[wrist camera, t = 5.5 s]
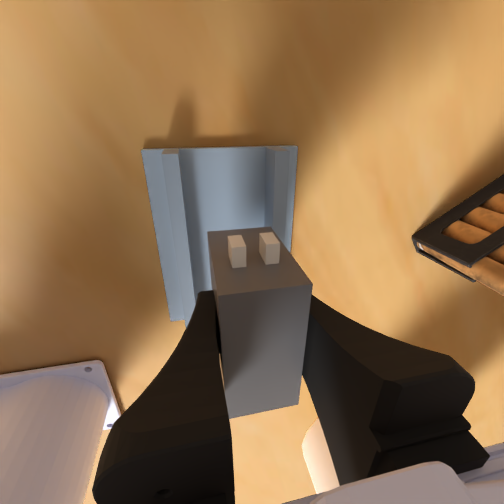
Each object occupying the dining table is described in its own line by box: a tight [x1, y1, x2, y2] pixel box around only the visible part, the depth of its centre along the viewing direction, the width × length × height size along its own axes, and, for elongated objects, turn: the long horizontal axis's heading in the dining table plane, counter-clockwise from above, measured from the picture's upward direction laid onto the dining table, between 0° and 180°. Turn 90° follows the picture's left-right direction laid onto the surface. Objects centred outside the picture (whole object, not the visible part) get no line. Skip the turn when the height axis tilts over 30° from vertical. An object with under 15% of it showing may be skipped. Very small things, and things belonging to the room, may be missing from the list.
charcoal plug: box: [207, 226, 313, 419], centre depth 12 cm, size 3×7×5 cm, turn 0°
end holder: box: [141, 145, 298, 328], centre depth 18 cm, size 9×12×3 cm
